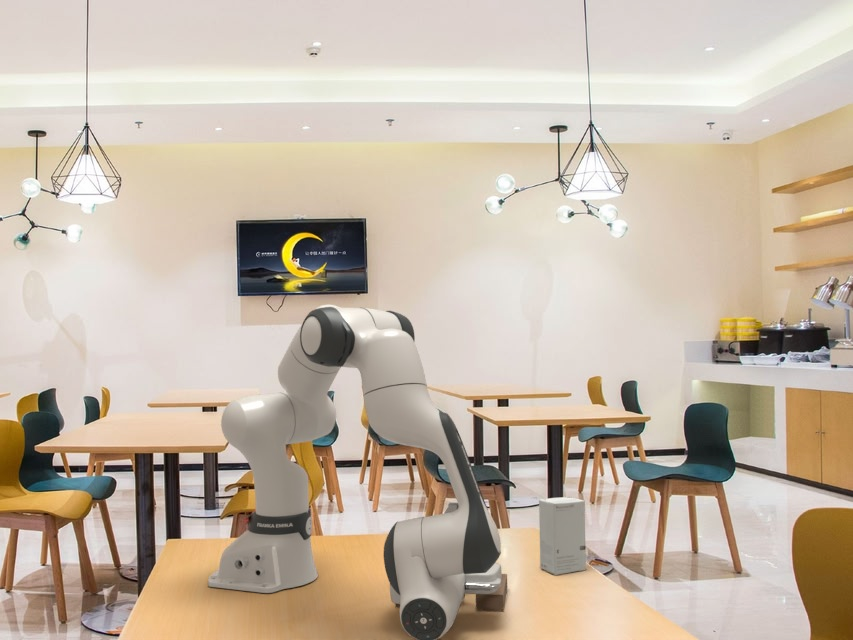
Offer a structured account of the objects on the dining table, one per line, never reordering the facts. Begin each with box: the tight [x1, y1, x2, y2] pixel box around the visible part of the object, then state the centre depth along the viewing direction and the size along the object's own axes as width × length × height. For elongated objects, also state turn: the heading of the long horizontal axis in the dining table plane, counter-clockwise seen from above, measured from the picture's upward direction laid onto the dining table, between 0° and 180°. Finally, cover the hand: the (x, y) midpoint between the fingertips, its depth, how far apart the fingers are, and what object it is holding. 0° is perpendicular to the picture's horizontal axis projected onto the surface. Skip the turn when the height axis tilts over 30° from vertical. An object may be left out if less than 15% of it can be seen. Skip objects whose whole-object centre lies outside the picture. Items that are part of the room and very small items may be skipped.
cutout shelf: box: [394, 573, 508, 612], centre depth 144 cm, size 20×12×3 cm, turn 80°
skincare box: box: [538, 496, 587, 576], centre depth 160 cm, size 8×6×15 cm
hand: (450, 562), depth 142 cm, fingers closed on pill bottle, 6 cm apart
